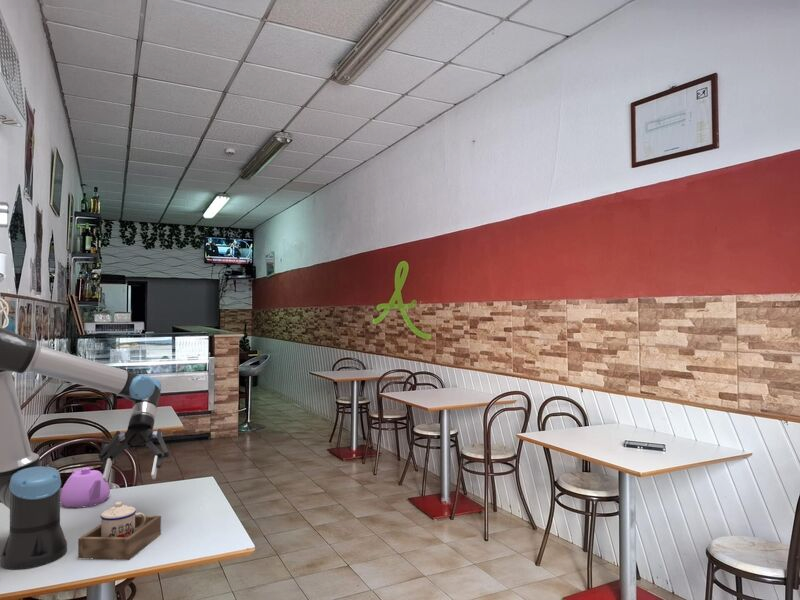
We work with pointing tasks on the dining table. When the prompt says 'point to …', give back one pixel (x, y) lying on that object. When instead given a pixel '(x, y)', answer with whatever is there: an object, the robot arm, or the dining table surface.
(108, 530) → the teacup with lid
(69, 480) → the teapot
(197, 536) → the dining table surface
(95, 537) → the walnut crate
